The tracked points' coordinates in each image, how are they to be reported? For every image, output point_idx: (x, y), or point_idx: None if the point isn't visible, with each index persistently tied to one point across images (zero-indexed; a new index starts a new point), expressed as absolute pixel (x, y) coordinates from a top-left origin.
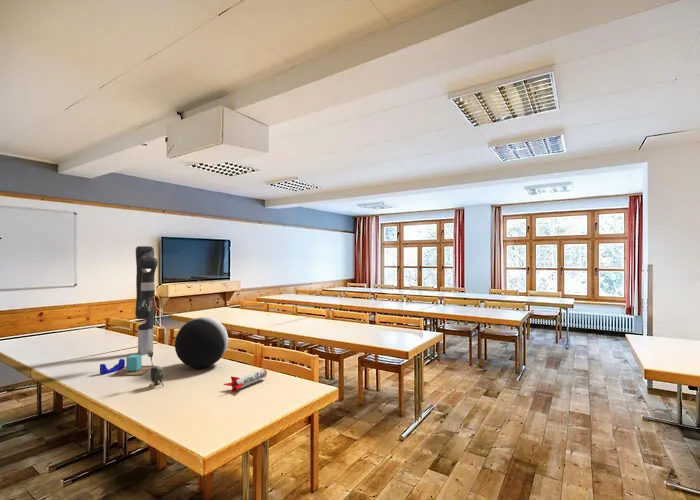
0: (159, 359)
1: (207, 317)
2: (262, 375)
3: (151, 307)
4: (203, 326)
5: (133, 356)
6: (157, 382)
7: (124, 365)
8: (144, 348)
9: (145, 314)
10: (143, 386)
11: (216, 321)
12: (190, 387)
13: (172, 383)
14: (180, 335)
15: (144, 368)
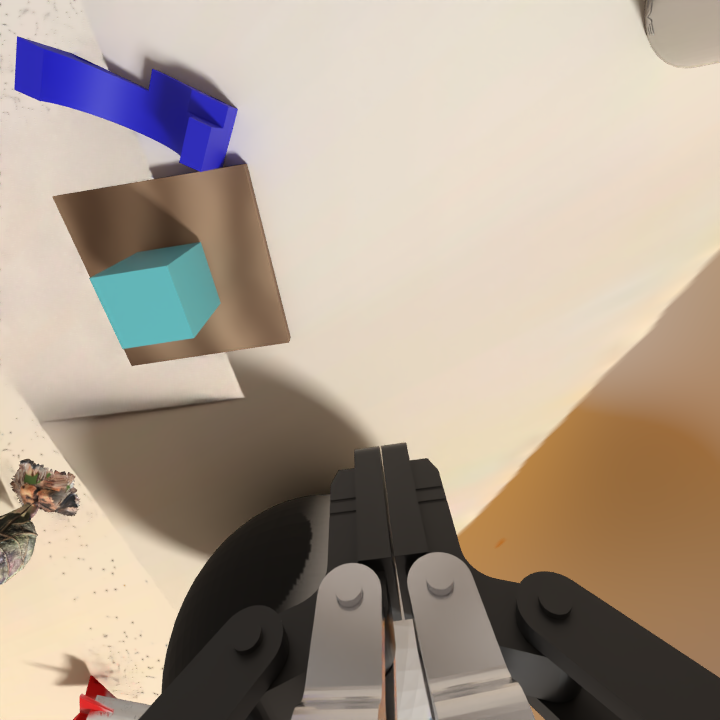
0: (442, 275)
1: None
2: None
3: (544, 715)
4: None
5: (135, 310)
6: (45, 507)
7: (213, 167)
8: (672, 14)
9: (331, 509)
10: (41, 439)
11: None
12: (106, 579)
13: (116, 517)
14: None
15: (224, 319)
